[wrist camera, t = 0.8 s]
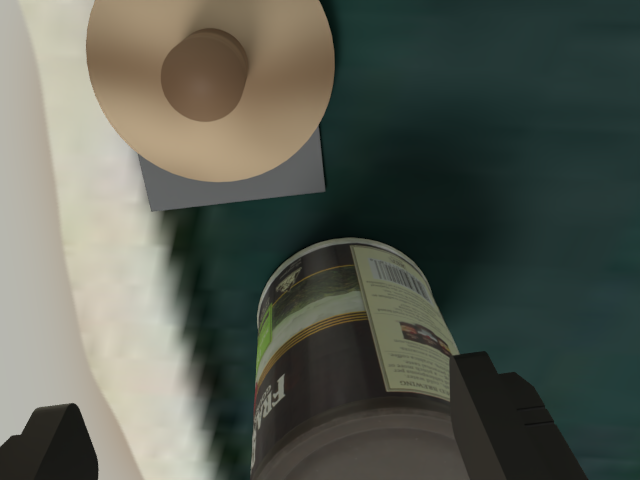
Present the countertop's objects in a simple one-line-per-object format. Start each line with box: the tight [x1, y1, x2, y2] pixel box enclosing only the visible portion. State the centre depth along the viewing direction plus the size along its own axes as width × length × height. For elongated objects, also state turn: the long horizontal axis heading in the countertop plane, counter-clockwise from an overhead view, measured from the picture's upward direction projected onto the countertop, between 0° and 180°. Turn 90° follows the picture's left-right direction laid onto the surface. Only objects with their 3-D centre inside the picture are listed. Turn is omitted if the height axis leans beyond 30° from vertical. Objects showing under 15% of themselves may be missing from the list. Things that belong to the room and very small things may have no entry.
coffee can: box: [250, 237, 470, 480], centre depth 28 cm, size 10×10×14 cm
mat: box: [138, 125, 325, 212], centre depth 28 cm, size 14×9×1 cm, turn 6°
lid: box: [86, 0, 335, 182], centre depth 26 cm, size 11×11×5 cm
